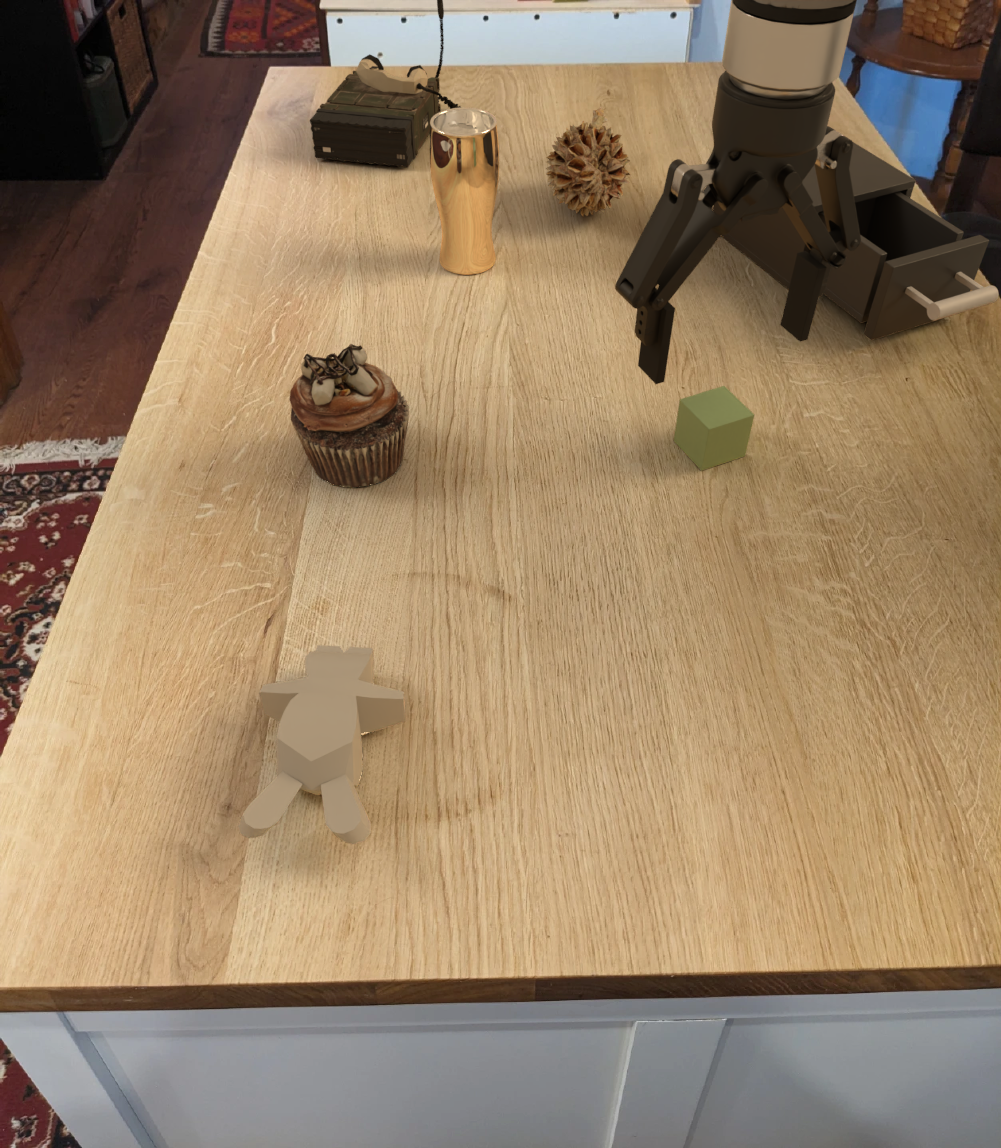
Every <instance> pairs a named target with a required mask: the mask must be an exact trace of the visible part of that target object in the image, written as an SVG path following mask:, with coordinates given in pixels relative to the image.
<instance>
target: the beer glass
mask: <svg viewBox="0 0 1001 1148" xmlns="http://www.w3.org/2000/svg"><path fill="white" fill-rule="evenodd" d="M429 167H430V177H431V184H432V190H433V193H434V198H435V203H436V206H437V211H438V216H439V221H440V226H441V242H440V243H441V244H440V248H439V258H438V259H439V264H440V265H441V267H442V268H443V269H444V270H446V271H447V272H450V273H453V274H455V275H463V276H464V275H465V276H470V275H472V276H473V275H478V274H482V273H484V272H487V271H488V270H490V269H491V268H492V267H493V266H494V265H495V264H496V260H497V259H496V258H497V257H496V252H495V247H494V242H493V232H492V230H493V229H492V228H493V217H494V211H495V206H496V199H497V194H498V187H499V179H500V147H499V135H498V120H497V117H496V116H495V115H494V114H493V113H491V112H490V111H487V110H485V109H481V108H477V107H463V106H461V108H452V109H450V108H447V109H445V110H441V112H439V113H437V114H435V115H434V116H433V117H432V118H431V120H430V134H429Z"/></svg>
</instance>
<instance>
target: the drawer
mask: <svg viewBox="0 0 1001 1148" xmlns="http://www.w3.org/2000/svg"><path fill="white" fill-rule="evenodd" d="M855 206H856V212H857V218H858V224H859V231H860V237H861V242H860V245H859V246H858V248H856V249H855V250H854V251H849V250H848V249H846V250H845V251H843V252H842V253H843V254H845V255H846V261H845V263H844V264H843V266H841V267H840V268H838V269H835V268H834V267H831V271H830V275H829V278H828V282H827V286H826V290H825V292H824V293H823V296H825V297H827V298H828V299H829V300H831V301H832V302H833V303H835V304H836V305H837V306H838V307H840V308H841V309H842V310H843V311H845V312H846V313H848V314H849V315H850V316H851V317H853V318H854V319H855V320H857V321H858V322H859V323H860V324H862V323H866V324H865V328H864V331H863V335H864V336H865V337H866V338H867V339H868V340H870V341H874V340H878V339H880V338H883V337H887V336H891V335H894V334H897V333H900V332H903V331H906V330H910V329H913V328H916V327H920V326H923V325H926V324H930V323H933V322H936V321H939V320H942V319H945V318H949V317H952V316H955V315H958V314H961V313H964V312H967V311H970V310H973V309H977V308H980V307H984V306H988V305H990V304H992V303H996V302H997V300H998V299H999V295H1000V294H999V290H998V288H997V287H996V286H995V285H987V286H984V285H982V284H980V283H978V282H977V281H976V280H975V279H976V277H977V274H978V271H979V269H980V266H981V263H982V260H983V258H984V255H985V253H986V250H987V247H988V245H989V242H990V240H989V239H988V238H987V237H985V236H983V235H981V234H978V235H975V236H971V237H968V238H964V239H963V235H964V232H965V231H963V230H962V229H960V228H958V227H957V226H955V225H953V224H952V223H951V222H949V221H947V220H945V219H944V218H943V217H941V216H939V215H938V214H936V213H935V212H933V211H931V210H930V209H928V208H927V207H925V206H924V205H922V204H920V203H919V202H917V201H915V200H914V199H913V198H909V197H907V196H906V195H904V194H903V193H901V192H895V193H891V194H887V195H883V196H879V197H875V198H871V199H868V200H864V201H860V202H856V203H855ZM818 215H819V217H820V218H821V220H822V222H823V224H824V225H825V227H826V229H827V226H826V221H825V216H824V211H821V212H818ZM810 252H811V250H809V254H810Z"/></svg>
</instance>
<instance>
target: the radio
mask: <svg viewBox="0 0 1001 1148" xmlns="http://www.w3.org/2000/svg"><path fill="white" fill-rule="evenodd" d="M436 5H437V6H436V7H437V8H436V9H437V15H438V18H439V32H440V33H439V34H440V36H439V37H440V47H439V49H440V52H439V60H438V64H437V70H436V73H435V76H431V77H428V73H427V71H426V70H425V69H424V67H422V65H421V64H419V65H414V66H410V68H409V70H408V72H407V74H406V76H399V75H393V74H390V73H389V72H388V71H386V69H385V67H384V65H383V64H382V61H381V60H380V59H379V58H378V57H376V56H374V55H372V54H367V55H366V56H364V57H363V58H361V60H360V61H359V62H358V65H357V68H356V70H352V73H349V74H347V75H346V77H345V78H344V80H343V81H342V82H341V83H340V84H339V85H338V86H337V88H335V90H333V92H332V94H330V96H329V97H328V98H327V99H326V102H325V103H321V104H320V105H319V108H317V109H316V111H315V113H314V115H313V116H312V117H311V118H310V120H309V122H310V125H311V126H310V131H311V135H312V136H311V137H312V142H313V143H312V144H313V147H312V148H313V150H314V158H315V159H322V160H326V159H327V160H332V161H337V160H338V161H341V162H347V161H348V162H351V163H354V162H357V163H359V164H363V163H365V164H366V163H367V164H369V165H373V164H376V165H378V166H383V165H386V166H388V167H391V166H396V167H398V168H401V167H403V168H406V169H408V168H409V166H410V165H411V164H412V162H413V160H416V157H417V156H418V155H419V149H421V147H422V146H423V145H424V143H425V142H426V140H427V138H428V136H430V120H431V118H432V117H433V116H434V115H435V114H437V113H439V112H441V111H442V109H441V103H440V102H443V104H444V105H447V108H449V109H452V108H461V107H462V106H461V105H459V103H454V102H453V100H451V99H449V97H447V96H445V95H444V96H443V94H441V93H440V90H441V89H440V87H441V85H440V74H441V70H442V66H443V61H444V60H443V58H444V57H443V56H444V49H445V46H444V44H445V42H444V40H445V39H444V17H445V16H444V15H445V11H444V10H445V9H444V0H436Z"/></svg>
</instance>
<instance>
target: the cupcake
mask: <svg viewBox="0 0 1001 1148" xmlns="http://www.w3.org/2000/svg"><path fill="white" fill-rule="evenodd" d="M367 360H368V353H367V352H366V350H365V348H364V347H362V345H355V344H353V343H349V345H348V346H346V347H345V348H343V349H341V351H340V353H339V354H338V355H337V354H336V353H335V352H334V353H333V352H332V353H329V354H327V355H326V357H320V356H313V355H311V354H310V353H306V354H305V355H304V356H303V361H302V363H301V364H300V365H301V366H300V371H301V375H300V376H299V377H298V378H297V380H296V381H295V382H294V383H293V385H292V387H291V389H290V391H289V403H290V406H291V410H290V421H291V423H292V427H293V429H294V431H295V432H296V435H297V438H298V439H299V441H300V443H301V445H302V449H303V450H304V453H305V455H306V457H307V458H308V461H309V463H310V465H311V467H312V468H313V471H314V472H315V474H316V475H317V476H318V477H319V479H321V480H322V479H323V481H324V480H326V481H328V482H329V483H328V482H327V483H328V484H330V483H331V484H330V485H332V484H334V485H333V486H335V485H338V486H337V487H341V486H344V487H343V488H347V487H358V488H360V487H359V486H367V487H370V486H371V485H370V484H373V485H376V484H375V483H378V484H380V483H379V482H381V483H383V482H384V480H385V481H386V480H388V479H389V478H391V477H392V476H394V475H395V474H396V473H397V471H398V470H399V469H400V467H401V466H402V463H403V461H404V455H405V454H404V453H405V444H406V438H407V433H408V426H409V419H410V412H411V411H410V406H409V404H408V400H407V399H405V397H406V396H405V395H402V391H399V390H398V388H397V386H396V385H395V383H394V382H393V379H392V377H390V375H388V374H387V373H386V371H384V370H382V369H381V368H380V367H378V366H376V365H374V364H371V363H368V362H367ZM395 472H396V473H395ZM326 481H325V482H326ZM382 481H383V482H382ZM339 485H341V486H339ZM369 485H370V486H369Z"/></svg>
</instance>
